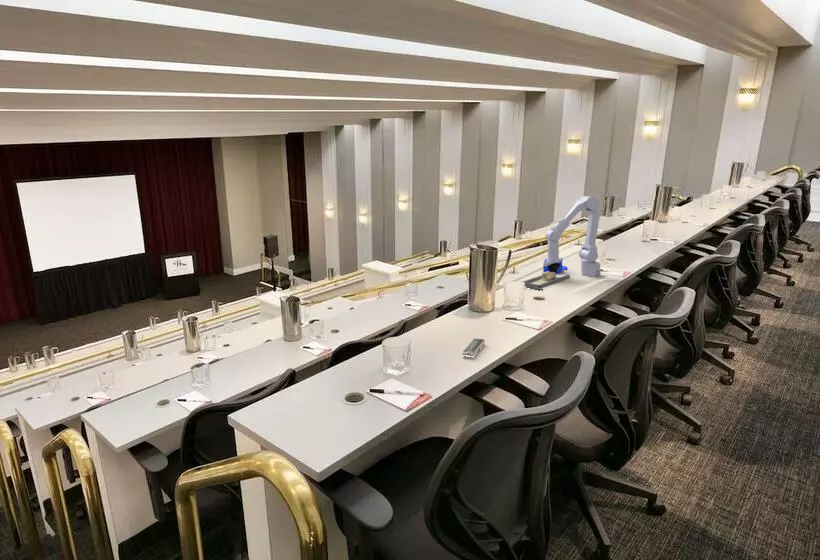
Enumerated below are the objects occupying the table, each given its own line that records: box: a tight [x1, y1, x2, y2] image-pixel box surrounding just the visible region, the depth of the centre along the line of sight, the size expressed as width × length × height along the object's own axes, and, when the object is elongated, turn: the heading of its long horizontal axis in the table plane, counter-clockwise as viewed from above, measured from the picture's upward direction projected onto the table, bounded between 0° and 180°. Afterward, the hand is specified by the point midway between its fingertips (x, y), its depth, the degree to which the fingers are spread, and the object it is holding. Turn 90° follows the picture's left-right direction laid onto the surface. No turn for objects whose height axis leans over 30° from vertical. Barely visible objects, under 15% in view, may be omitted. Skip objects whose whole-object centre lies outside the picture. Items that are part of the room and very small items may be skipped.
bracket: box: [542, 258, 568, 275], centre depth 301 cm, size 18×8×9 cm, turn 142°
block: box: [541, 271, 557, 281], centre depth 280 cm, size 5×5×4 cm
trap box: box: [522, 274, 571, 292], centre depth 279 cm, size 12×27×3 cm, turn 130°
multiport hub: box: [461, 338, 486, 356], centre depth 196 cm, size 4×14×2 cm, turn 156°
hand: (553, 276), depth 283 cm, fingers closed
